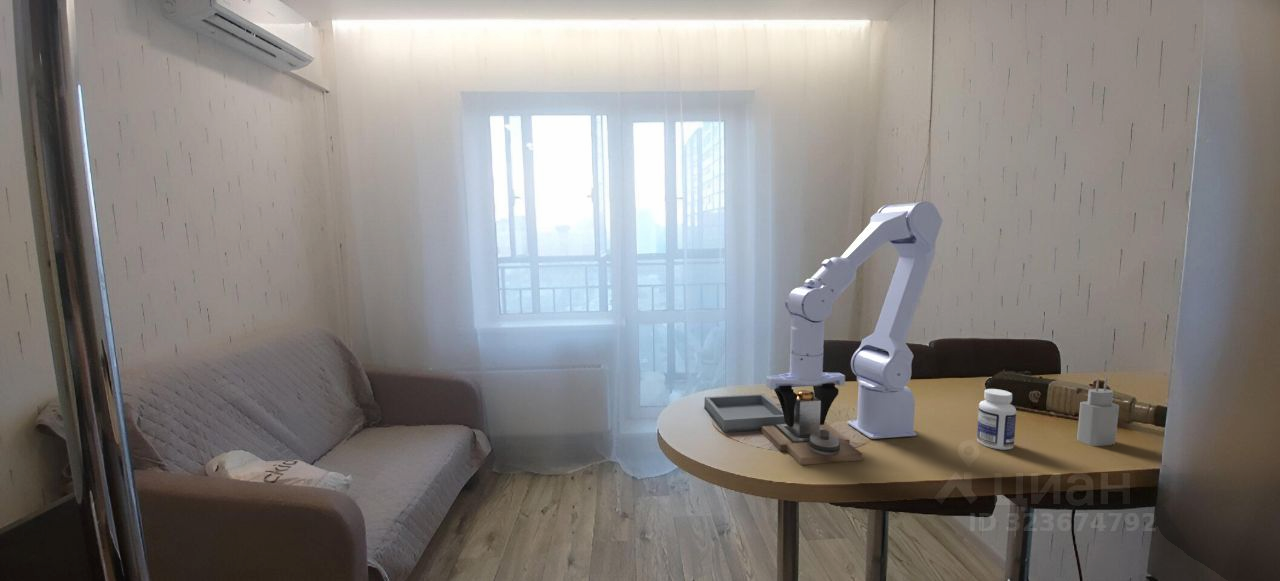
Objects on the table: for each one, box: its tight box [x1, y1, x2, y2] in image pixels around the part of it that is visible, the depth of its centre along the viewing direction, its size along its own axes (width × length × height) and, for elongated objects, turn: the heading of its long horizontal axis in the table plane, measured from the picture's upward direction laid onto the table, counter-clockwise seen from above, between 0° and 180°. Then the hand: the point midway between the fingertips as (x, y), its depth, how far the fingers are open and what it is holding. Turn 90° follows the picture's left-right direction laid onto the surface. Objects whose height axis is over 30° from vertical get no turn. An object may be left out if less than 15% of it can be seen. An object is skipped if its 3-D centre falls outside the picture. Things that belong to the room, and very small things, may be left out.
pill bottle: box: [976, 388, 1017, 451], centre depth 85 cm, size 5×5×10 cm
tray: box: [703, 393, 785, 433], centre depth 99 cm, size 14×14×2 cm
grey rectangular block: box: [789, 389, 821, 438], centre depth 87 cm, size 4×4×9 cm
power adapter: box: [1076, 377, 1120, 447], centre depth 85 cm, size 3×5×12 cm, turn 101°
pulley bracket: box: [760, 421, 863, 465], centre depth 85 cm, size 13×14×4 cm
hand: (804, 423), depth 88 cm, fingers open, 5 cm apart
